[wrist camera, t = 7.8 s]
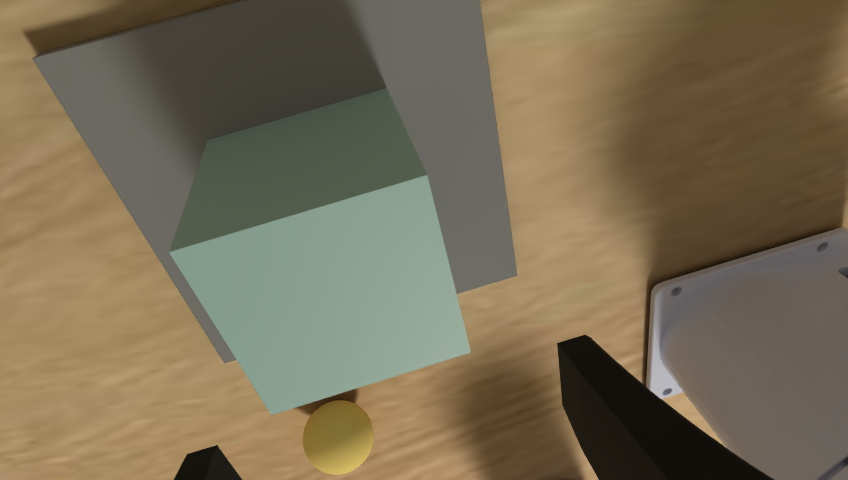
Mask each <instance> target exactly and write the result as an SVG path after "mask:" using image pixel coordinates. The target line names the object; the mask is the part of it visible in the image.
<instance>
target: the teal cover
mask: <svg viewBox="0 0 848 480" xmlns="http://www.w3.org/2000/svg"><path fill="white" fill-rule="evenodd" d="M169 253H170V255H171V256H172V258H173V259H174V261H175V263H176V264H177V266H178V267H179V269H180V271H181V272H182V274H183V275H184V277H185V279H186V280H187V282H188V283H189V285H190V286H191V288H192V290H193V291H194V293H195V294H196V296H197V298H198V299H199V301H200V302H201V304H202V306H203V307H204V309H205V310H206V312H207V313H208V315H209V317H210V318H211V320H212V321H213V323H214V325H215V326H216V328H217V329H218V331H219V333H220V334H221V336H222V337H223V339H224V340H225V342H226V344H227V345H228V347H229V348H230V350H231V352H232V353H233V355H234V356H235V358H236V360H237V361H238V363H239V364H240V366H241V367H242V369H243V371H244V372H245V374H246V375H247V377H248V379H249V380H250V382H251V383H252V385H253V387H254V388H255V390H256V391H257V393H258V395H259V396H260V398H261V399H262V401H263V402H264V404H265V406H266V407H267V409H268V410H269V412H270V414H271V415H273V414H277V413H280V412H283V411H286V410H289V409H292V408H296V407H299V406H302V405H305V404H308V403H312V402H315V401H318V400H321V399H324V398H327V397H331V396H334V395H337V394H340V393H343V392H347V391H350V390H353V389H356V388H359V387H362V386H366V385H369V384H372V383H375V382H378V381H382V380H385V379H388V378H391V377H394V376H397V375H401V374H404V373H407V372H410V371H413V370H416V369H420V368H423V367H426V366H429V365H432V364H436V363H439V362H442V361H445V360H448V359H451V358H455V357H458V356H461V355H464V354H467V353H471V350H470V346H469V342H468V338H467V334H466V330H465V326H464V322H463V318H462V314H461V310H460V306H459V302H458V298H457V294H456V290H455V286H454V282H453V277H452V273H451V269H450V265H449V261H448V257H447V253H446V249H445V245H444V241H443V237H442V233H441V229H440V225H439V221H438V217H437V213H436V209H435V204H434V200H433V196H432V192H431V188H430V184H429V180H428V176H427V173H426V171H425V169H424V167H423V165H422V163H421V161H420V158H419V156H418V154H417V152H416V150H415V148H414V145H413V143H412V141H411V139H410V137H409V135H408V133H407V130H406V128H405V126H404V124H403V122H402V120H401V118H400V115H399V113H398V111H397V109H396V107H395V105H394V103H393V100H392V98H391V96H390V94H389V92H388V90H387V88H386V89H382V90H379V91H375V92H372V93H369V94H365V95H362V96H358V97H355V98H351V99H348V100H345V101H341V102H338V103H334V104H331V105H327V106H324V107H320V108H317V109H314V110H310V111H307V112H303V113H300V114H296V115H293V116H290V117H286V118H283V119H279V120H276V121H272V122H269V123H265V124H262V125H259V126H255V127H252V128H248V129H245V130H241V131H238V132H235V133H231V134H228V135H224V136H221V137H217V138H214V139H210V140H207V143H206V146H205V149H204V152H203V155H202V157H201V160H200V163H199V166H198V169H197V172H196V175H195V178H194V181H193V184H192V187H191V189H190V192H189V195H188V198H187V201H186V204H185V207H184V210H183V213H182V216H181V219H180V221H179V224H178V227H177V230H176V233H175V236H174V239H173V242H172V245H171V248H170V251H169Z"/></svg>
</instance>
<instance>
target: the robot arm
mask: <svg viewBox="0 0 848 480" xmlns="http://www.w3.org/2000/svg"><path fill="white" fill-rule="evenodd" d="M673 289H674V290H673ZM557 345H558V357H559V369H560V381H561V392H562V404H563V407H564V409H565V412H566V414H567V416H568V419H569V421H570V423H571V426H572V428H573V430H574V432H575V435H576V437H577V439H578V441H579V444H580V446H581V448H582V450H583V452H584V454H585V456H586V457H587V459H588V461H589V463H590V465H591V466H592V468H593V470H594V472H595V473H596V475H597V477H598V479H599V480H848V230H847V229H846V228H838V229H834V230H831V231H828V232H824V233H821V234H818V235H815V236H811V237H808V238H805V239H801V240H798V241H795V242H792V243H788V244H785V245H782V246H778V247H775V248H772V249H768V250H765V251H762V252H759V253H755V254H752V255H749V256H745V257H742V258H739V259H736V260H732V261H729V262H726V263H722V264H719V265H716V266H713V267H709V268H706V269H703V270H699V271H696V272H693V273H689V274H686V275H683V276H680V277H676V278H673V279H670V280H666V281H663V282H660V283H658V284H657V285H656V286H654V288H653V289H652V292H651V304H650V322H649V341H648V359H647V378H646V386H644V385H643V384H642V383H641V382H640V381H638V380H637V379H636V378H635V377H634V376H633V375H631V374H630V373H629V372H628V371H627V370H626V369H624V368H623V367H622V366H621V365H620V364H619V363H618V362H616V361H615V360H614V359H613V358H612V357H611V356H610V355H609V354H608V353H606V352H605V351H604V350H603V349H602V348H601V347H600V346H599V345H598V344H597V343H596V342H595V341H594V340H593V339H592V338H590V337H589V336H587V335H583V336H580V337H576V338H573V339H570V340H566V341H563V342H560V343H557ZM682 392H684V393H685V395H686V396H687V397H688V399H689V400H690V401H691V402H692V404H693V405H694V406H695V408H696V409H697V410H698V411H699V413H700V414H701V415H702V417H703V418H704V419H705V420H706V422H707V423H708V424H709V426H710V427H711V428H712V430H713V431H714V432H715V433H716V435H717V436H718V437H719V439H720V440H721V441H722V442H723V444H724V445H725V446H726V447H724V446H723V445H722V444H720V443H719V442H717V441H716V440H715V439H713V438H712V437H710V436H709V435H708V434H706V433H705V432H703V431H702V430H701V429H699V428H698V427H697V426H695V425H694V424H693V423H691V422H690V421H689V420H687V419H686V418H685V417H683V416H682V415H681V414H679V413H678V412H677V411H676V410H674V409H673V408H672V407H671V406H669V405H668V404H667V403H665V402H664V401H663V400H662V399H663V398H666V397H669V396H672V395H676V394H679V393H682ZM174 480H242V479H241V477H240V476H239V475H238V473H237V472H236V471H235V469H234V468H233V467H232V465H231V464H230V462H229V461H228V460H227V458H226V457H225V456H224V454H223V453H222V451H221V450H220V449H219V447H218V446H217V445H216V446H213V447H209V448H206V449H203V450H199V451H196V452H193V453H189V454H187V456H186V457H185V459H184V461H183V463H182V465H181V467H180V469H179V471H178V473H177V475H176V476H175V478H174Z"/></svg>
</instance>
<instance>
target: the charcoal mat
mask: <svg viewBox="0 0 848 480" xmlns="http://www.w3.org/2000/svg"><path fill="white" fill-rule="evenodd" d="M32 59H33V61H34V62H35V64H36V65H37V67H38V68H39V70H40V72H41V73H42V75H43V76H44V78H45V80H46V81H47V83H48V84H49V86H50V88H51V89H52V91H53V92H54V94H55V95H56V97H57V99H58V100H59V102H60V103H61V105H62V107H63V108H64V110H65V111H66V113H67V114H68V116H69V118H70V119H71V121H72V122H73V124H74V126H75V127H76V129H77V130H78V132H79V133H80V135H81V137H82V138H83V140H84V141H85V143H86V145H87V146H88V148H89V149H90V151H91V153H92V154H93V156H94V157H95V159H96V160H97V162H98V164H99V165H100V167H101V168H102V170H103V172H104V173H105V175H106V176H107V178H108V179H109V181H110V183H111V184H112V186H113V187H114V189H115V191H116V192H117V194H118V195H119V197H120V198H121V200H122V202H123V203H124V205H125V206H126V208H127V210H128V211H129V213H130V214H131V216H132V217H133V219H134V221H135V222H136V224H137V225H138V227H139V229H140V230H141V232H142V233H143V235H144V237H145V238H146V240H147V241H148V243H149V244H150V246H151V248H152V249H153V251H154V252H155V254H156V256H157V257H158V259H159V260H160V262H161V263H162V265H163V267H164V268H165V270H166V271H167V273H168V275H169V276H170V278H171V279H172V281H173V282H174V284H175V286H176V287H177V289H178V290H179V292H180V294H181V295H182V297H183V298H184V300H185V302H186V303H187V305H188V306H189V308H190V309H191V311H192V313H193V314H194V316H195V317H196V319H197V321H198V322H199V324H200V325H201V327H202V328H203V330H204V332H205V333H206V335H207V336H208V338H209V340H210V341H211V343H212V344H213V346H214V347H215V349H216V351H217V352H218V354H219V355H220V357H221V359H222V360H223V362H224V363H227V362H230V361H234V360H236V358H235V356H234V355H233V353H232V352H231V350H230V348H229V347H228V345H227V344H226V342H225V340H224V339H223V337H222V336H221V334H220V333H219V331H218V329H217V328H216V326H215V325H214V323H213V321H212V320H211V318H210V317H209V315H208V313H207V312H206V310H205V309H204V307H203V306H202V304H201V302H200V301H199V299H198V298H197V296H196V294H195V293H194V291H193V290H192V288H191V286H190V285H189V283H188V282H187V280H186V279H185V277H184V275H183V274H182V272H181V271H180V269H179V267H178V266H177V264H176V263H175V261H174V259H173V258H172V256H171V255H170V253H169V251H170V248H171V245H172V242H173V239H174V236H175V233H176V230H177V227H178V224H179V221H180V219H181V216H182V213H183V210H184V207H185V204H186V201H187V198H188V195H189V192H190V189H191V187H192V184H193V181H194V178H195V175H196V172H197V169H198V166H199V163H200V160H201V157H202V155H203V152H204V149H205V146H206V143H207V140H210V139H214V138H217V137H221V136H224V135H228V134H231V133H235V132H238V131H241V130H245V129H248V128H252V127H255V126H259V125H262V124H265V123H269V122H272V121H276V120H279V119H283V118H286V117H290V116H293V115H296V114H300V113H303V112H307V111H310V110H314V109H317V108H320V107H324V106H327V105H331V104H334V103H338V102H341V101H345V100H348V99H351V98H355V97H358V96H362V95H365V94H369V93H372V92H375V91H379V90H382V89H386V88H387V90H388V92H389V94H390V96H391V98H392V100H393V103H394V105H395V107H396V109H397V111H398V113H399V115H400V118H401V120H402V122H403V124H404V126H405V128H406V130H407V133H408V135H409V137H410V139H411V141H412V143H413V145H414V148H415V150H416V152H417V154H418V156H419V158H420V161H421V163H422V165H423V167H424V169H425V171H426V173H427V176H428V180H429V184H430V188H431V192H432V196H433V200H434V204H435V209H436V213H437V217H438V221H439V225H440V229H441V233H442V237H443V241H444V245H445V249H446V253H447V257H448V261H449V265H450V269H451V273H452V277H453V282H454V286H455V290H456V294H458V293H461V292H465V291H468V290H471V289H475V288H478V287H481V286H485V285H488V284H491V283H495V282H498V281H501V280H505V279H508V278H511V277H515V276H517V269H516V262H515V255H514V248H513V240H512V233H511V226H510V218H509V211H508V204H507V196H506V189H505V182H504V175H503V167H502V160H501V153H500V145H499V138H498V131H497V123H496V116H495V109H494V102H493V94H492V87H491V80H490V72H489V65H488V58H487V50H486V43H485V36H484V29H483V21H482V14H481V7H480V0H239V1H236V2H232V3H228V4H224V5H221V6H217V7H213V8H209V9H205V10H202V11H198V12H194V13H190V14H187V15H183V16H179V17H175V18H172V19H168V20H164V21H160V22H157V23H153V24H149V25H145V26H141V27H138V28H134V29H130V30H126V31H123V32H119V33H115V34H111V35H108V36H104V37H100V38H96V39H93V40H89V41H85V42H81V43H77V44H74V45H70V46H66V47H62V48H59V49H55V50H51V51H47V52H44V53H40V54H38V55H37V56H35V57H34V58H32Z"/></svg>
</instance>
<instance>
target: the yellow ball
mask: <svg viewBox="0 0 848 480" xmlns="http://www.w3.org/2000/svg"><path fill="white" fill-rule="evenodd" d="M373 437H374V434H373V426H372V423H371V420H370V418H369V417H368V415H367V413H366V412H365V411H364V410H363V409H362V408H361V407H359V406H358V405H356V404H354V403H352V402H349V401H344V400H336V401H331V402H328V403H326V404H323V405H322V406H320V407H319V408H318V409H316V410H315V411H314V412H313V414H312V415H311V416H310V418H309V419H308V421H307V423H306V426H305V428H304V433H303V446H304V450H305V453H306V455H307V457H308V459H309V461H310V462H311V463H312V464H313V465H314V466H315V467H316V468H317V469H319V470H320V471H322V472H325V473H328V474H334V475H338V474H345V473H348V472H351V471H353V470H354V469H356V468H357V467H359V466H360V465H361V464H362V463H363V462H364V461H365V459H366V458H367V456H368V455H369V453H370V451H371V448H372V444H373Z"/></svg>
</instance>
